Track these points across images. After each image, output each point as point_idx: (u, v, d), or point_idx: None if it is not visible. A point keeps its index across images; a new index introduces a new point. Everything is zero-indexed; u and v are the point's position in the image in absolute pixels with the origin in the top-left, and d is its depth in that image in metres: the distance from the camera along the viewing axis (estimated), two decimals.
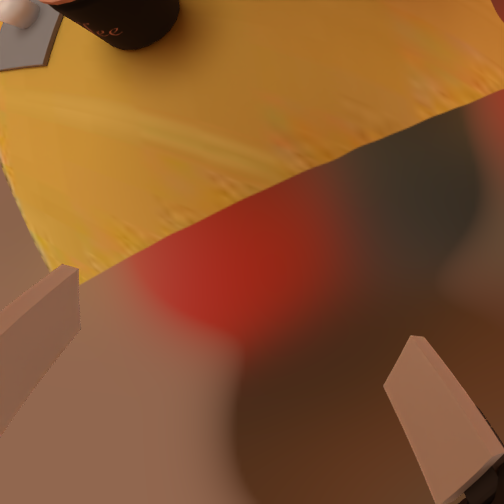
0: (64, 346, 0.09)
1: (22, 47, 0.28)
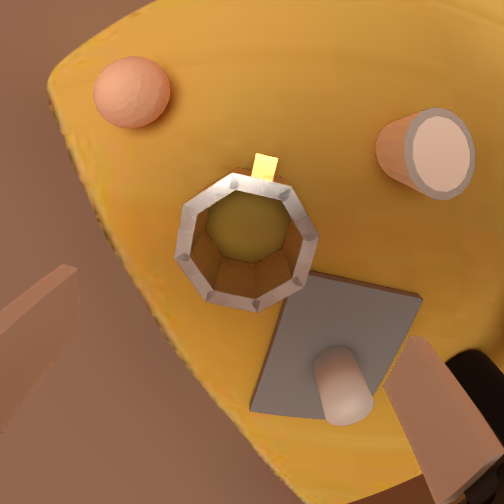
0: (64, 346, 0.09)
1: None
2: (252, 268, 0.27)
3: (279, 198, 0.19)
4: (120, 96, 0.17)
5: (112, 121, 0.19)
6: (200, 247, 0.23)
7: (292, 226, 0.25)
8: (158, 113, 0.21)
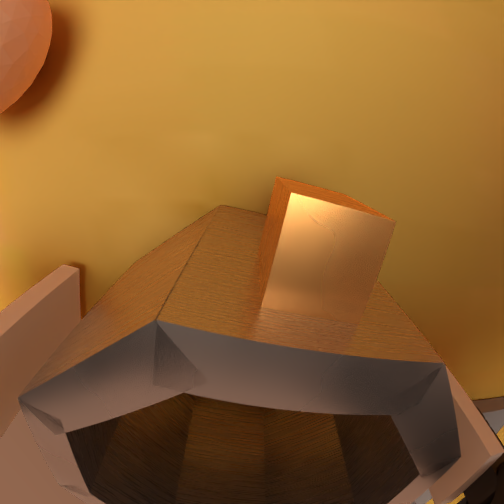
0: None
1: None
2: (258, 423, 0.11)
3: (386, 411, 0.04)
4: None
5: None
6: (130, 423, 0.08)
7: None
8: (2, 80, 0.05)
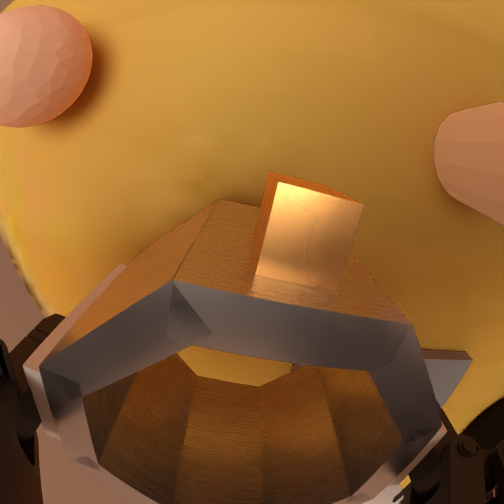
0: None
1: None
2: (255, 405, 0.12)
3: (363, 367, 0.05)
4: None
5: None
6: (136, 401, 0.09)
7: None
8: (65, 95, 0.10)
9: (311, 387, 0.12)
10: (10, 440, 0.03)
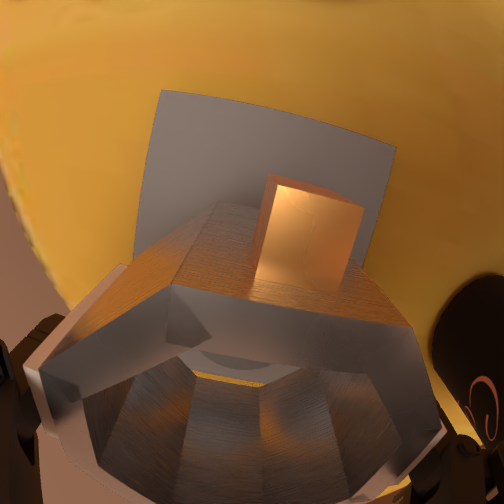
0: None
1: None
2: (255, 406, 0.12)
3: (363, 370, 0.05)
4: None
5: None
6: (136, 403, 0.09)
7: None
8: None
9: (311, 388, 0.12)
10: (10, 440, 0.03)
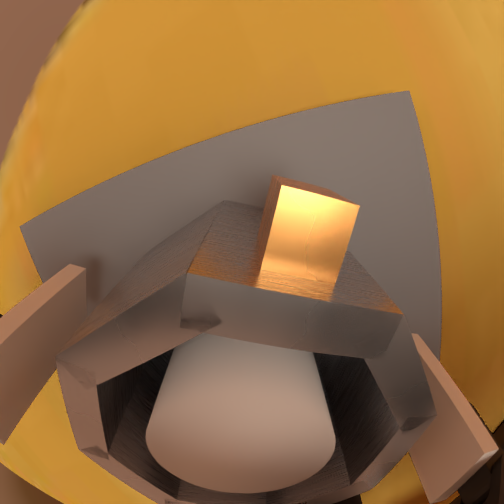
0: None
1: None
2: None
3: (360, 354, 0.05)
4: None
5: None
6: (143, 394, 0.09)
7: None
8: None
9: None
10: None
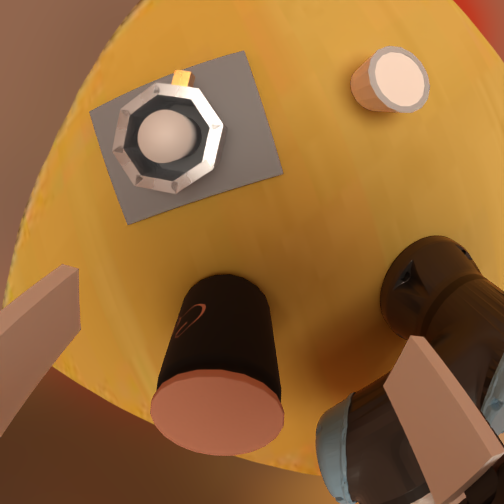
0: (64, 346, 0.09)
1: None
2: (183, 173, 0.30)
3: (189, 97, 0.22)
4: None
5: None
6: (137, 150, 0.26)
7: None
8: None
9: None
10: None
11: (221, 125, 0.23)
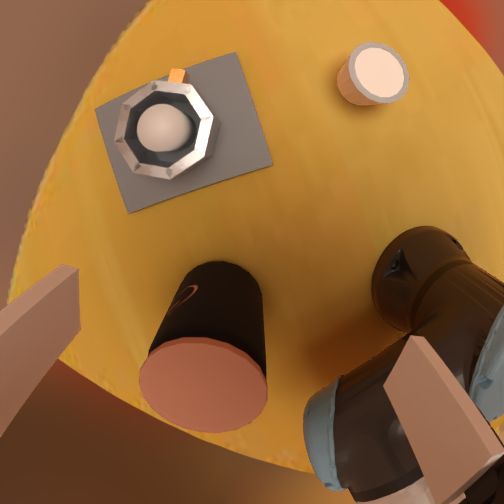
0: (64, 346, 0.09)
1: None
2: None
3: (183, 92, 0.25)
4: None
5: None
6: (137, 142, 0.29)
7: None
8: None
9: None
10: None
11: (211, 117, 0.25)
